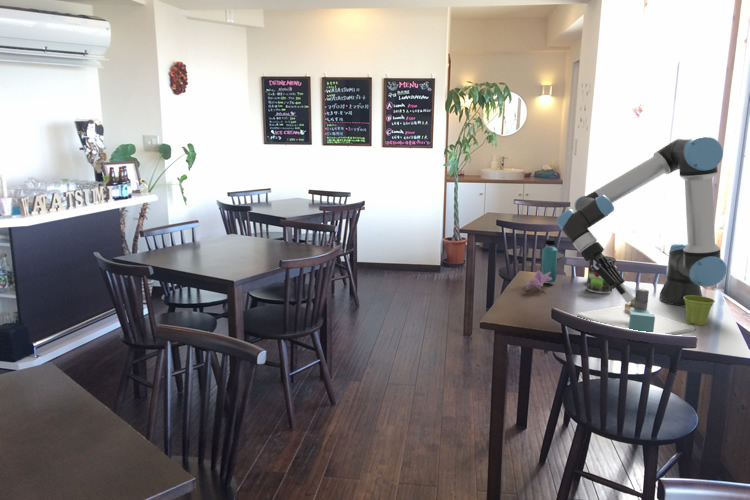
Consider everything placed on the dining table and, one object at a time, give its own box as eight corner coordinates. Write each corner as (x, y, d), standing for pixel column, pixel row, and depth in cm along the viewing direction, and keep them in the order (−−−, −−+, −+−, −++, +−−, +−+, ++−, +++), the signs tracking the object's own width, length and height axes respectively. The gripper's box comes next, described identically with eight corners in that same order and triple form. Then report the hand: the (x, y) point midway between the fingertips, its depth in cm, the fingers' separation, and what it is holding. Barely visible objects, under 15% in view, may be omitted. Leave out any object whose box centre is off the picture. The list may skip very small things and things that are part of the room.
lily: (556, 292, 233) (548, 271, 235) (560, 288, 221) (552, 266, 224) (528, 300, 234) (521, 279, 236) (531, 297, 222) (523, 274, 225)
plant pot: (691, 327, 187) (694, 302, 186) (674, 318, 197) (677, 295, 195) (717, 327, 188) (721, 302, 186) (700, 318, 197) (703, 295, 196)
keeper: (626, 320, 190) (628, 305, 189) (648, 323, 188) (650, 307, 187) (629, 330, 180) (631, 314, 179) (653, 333, 178) (655, 316, 177)
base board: (624, 307, 209) (625, 304, 209) (694, 330, 184) (694, 327, 184) (576, 315, 198) (576, 313, 198) (643, 341, 174) (643, 338, 174)
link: (622, 307, 205) (625, 281, 203) (640, 308, 203) (643, 282, 201) (636, 325, 184) (639, 296, 182) (655, 327, 183) (658, 298, 181)
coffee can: (607, 295, 226) (611, 261, 223) (582, 290, 233) (585, 257, 230) (616, 290, 234) (619, 257, 231) (591, 285, 240) (594, 254, 238)
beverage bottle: (557, 286, 240) (561, 240, 236) (542, 285, 239) (545, 240, 235) (552, 282, 246) (556, 238, 242) (537, 282, 246) (541, 238, 242)
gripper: (588, 251, 208) (629, 302, 200) (573, 255, 199) (615, 310, 191) (603, 239, 203) (646, 291, 195) (589, 243, 194) (632, 298, 186)
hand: (630, 300), depth 193 cm, fingers closed
